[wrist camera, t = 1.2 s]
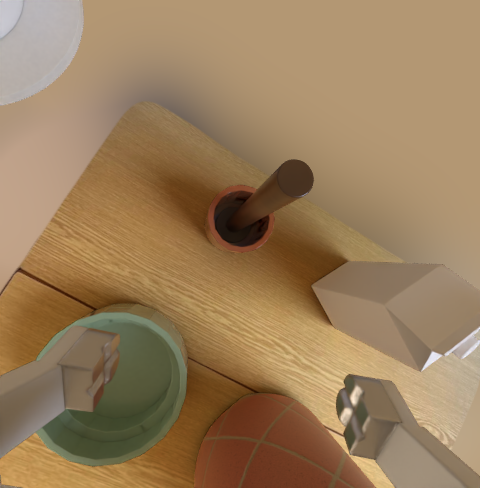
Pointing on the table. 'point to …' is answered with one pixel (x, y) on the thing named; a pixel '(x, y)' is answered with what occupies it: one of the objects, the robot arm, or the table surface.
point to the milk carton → (403, 309)
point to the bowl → (125, 390)
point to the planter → (273, 449)
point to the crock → (237, 198)
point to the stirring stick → (266, 200)
